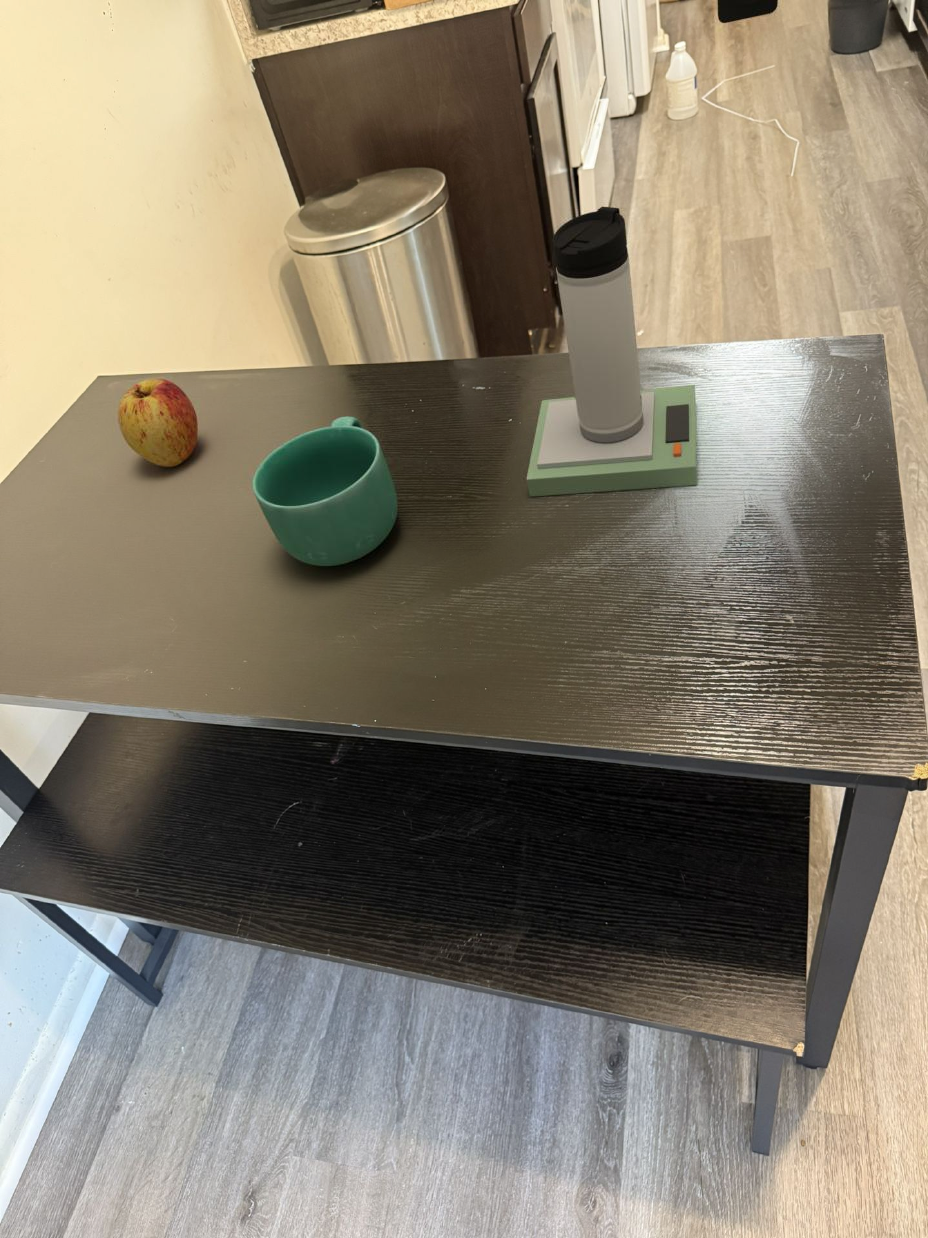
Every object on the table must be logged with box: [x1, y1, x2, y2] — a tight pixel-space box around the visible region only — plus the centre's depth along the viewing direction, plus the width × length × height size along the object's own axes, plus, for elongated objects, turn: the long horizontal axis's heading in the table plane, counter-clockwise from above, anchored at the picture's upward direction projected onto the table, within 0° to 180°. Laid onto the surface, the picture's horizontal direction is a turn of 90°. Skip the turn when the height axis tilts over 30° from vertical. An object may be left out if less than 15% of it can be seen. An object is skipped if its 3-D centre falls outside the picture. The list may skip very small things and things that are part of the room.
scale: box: [525, 384, 698, 498], centre depth 87 cm, size 16×14×3 cm
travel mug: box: [552, 206, 643, 443], centre depth 79 cm, size 6×7×20 cm
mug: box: [252, 416, 399, 567], centre depth 85 cm, size 17×13×10 cm
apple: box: [117, 378, 199, 468], centre depth 104 cm, size 9×9×10 cm
